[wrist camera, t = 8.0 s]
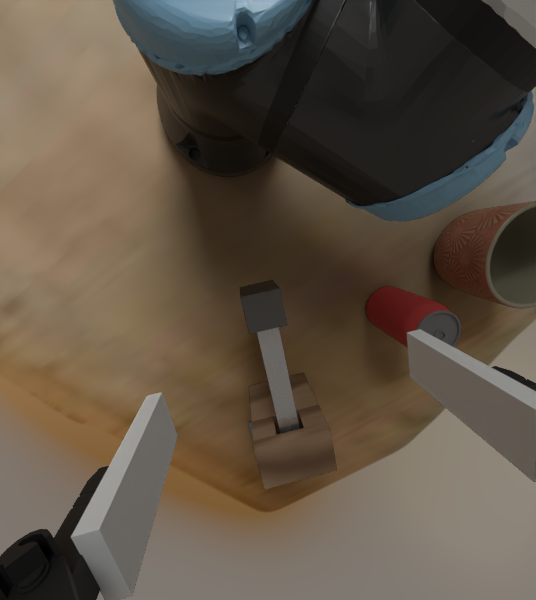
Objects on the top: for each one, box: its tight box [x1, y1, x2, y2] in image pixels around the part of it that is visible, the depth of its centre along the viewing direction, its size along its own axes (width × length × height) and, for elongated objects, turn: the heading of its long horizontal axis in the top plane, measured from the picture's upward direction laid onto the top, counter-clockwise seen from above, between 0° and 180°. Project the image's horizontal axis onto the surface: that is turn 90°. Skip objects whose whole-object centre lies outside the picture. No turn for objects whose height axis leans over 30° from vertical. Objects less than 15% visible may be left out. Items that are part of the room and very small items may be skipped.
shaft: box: [240, 280, 300, 434], centre depth 33 cm, size 23×4×5 cm, turn 12°
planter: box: [434, 202, 536, 308], centre depth 37 cm, size 12×12×11 cm
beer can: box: [366, 286, 461, 348], centre depth 37 cm, size 7×7×12 cm
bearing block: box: [249, 373, 337, 489], centre depth 38 cm, size 6×9×13 cm, turn 102°
